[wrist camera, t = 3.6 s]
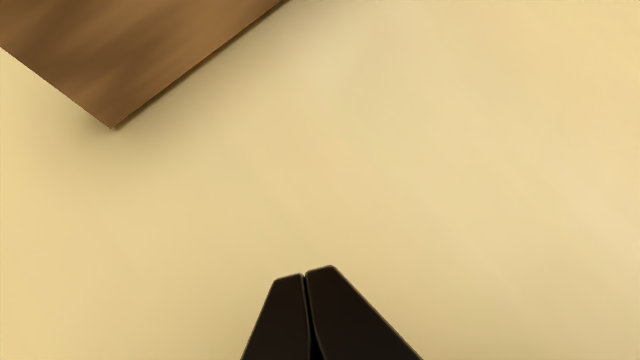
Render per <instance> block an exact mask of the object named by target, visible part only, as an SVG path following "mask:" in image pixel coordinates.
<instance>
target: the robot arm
mask: <svg viewBox="0 0 640 360" xmlns="http://www.w3.org/2000/svg"><path fill="white" fill-rule="evenodd" d="M240 360H423V359H422V358H421V357H420V356H419V354H418V353H417V352H416V351H415V350H414V349H413V348H412V347H411V346H410V345H409V344H408V343H407V342H406V341H405V340H404V339H403V338H402V337H401V336H400V334H399V333H398V332H397V331H396V330H395V329H394V328H393V327H392V326H391V325H390V324H389V323H388V322H387V321H386V320H385V319H384V318H383V317H382V316H381V314H380V313H379V312H378V311H377V310H376V309H375V308H374V307H373V306H372V305H371V304H370V303H369V302H368V301H367V300H366V299H365V298H364V297H363V296H362V294H361V293H360V292H359V291H358V290H357V289H356V288H355V287H354V286H353V285H352V284H351V283H350V282H349V281H348V280H347V279H346V278H345V277H344V276H343V274H342V273H341V272H340V271H339V270H338V269H337V268H336V267H334V266H332V265H328V266H324V267H320V268H316V269H312V270H309V271H307V272H306V273H305V277H304V275H303V274H301V273H297V274H293V275H289V276H285V277H281V278H278V279H276V280H275V281H274V282H273V283H272V286H271V288H270V290H269V293H268V295H267V298H266V300H265V302H264V305H263V307H262V309H261V312H260V314H259V317H258V319H257V321H256V324H255V326H254V328H253V331H252V333H251V336H250V338H249V340H248V343H247V345H246V347H245V350H244V352H243V355H242V357H241V359H240Z"/></svg>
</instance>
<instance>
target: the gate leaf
mask: <svg viewBox="0 0 640 360" xmlns="http://www.w3.org/2000/svg"><path fill="white" fill-rule="evenodd" d="M280 1H281V0H0V47H1V48H2V49H4V50H5V51H6V52H8V53H9V54H11V55H12V56H13V57H15V58H16V59H17V60H19V61H20V62H21V63H23V64H24V65H25V66H27V67H28V68H29V69H31V70H32V71H33V72H35V73H36V74H37V75H39V76H40V77H42V78H43V79H44V80H46V81H47V82H48V83H50V84H51V85H52V86H54V87H55V88H56V89H58V90H59V91H60V92H62V93H63V94H64V95H66V96H67V97H68V98H70V99H71V100H72V101H74V102H75V103H77V104H78V105H79V106H81V107H82V108H83V109H85V110H86V111H87V112H89V113H90V114H91V115H93V116H94V117H95V118H97V119H98V120H99V121H101V122H102V123H103V124H105V125H106V126H108V127H109V128H110V129H111V128H113V127H114V126H115V125H117V124H118V123H119V122H121V121H122V120H123V119H125V118H126V117H127V116H129V115H130V114H131V113H133V112H134V111H135V110H137V109H138V108H139V107H141V106H142V105H143V104H145V103H146V102H147V101H149V100H150V99H151V98H153V97H154V96H155V95H157V94H158V93H159V92H161V91H162V90H163V89H165V88H166V87H167V86H169V85H170V84H171V83H172V82H174V81H175V80H176V79H178V78H179V77H180V76H182V75H183V74H184V73H186V72H187V71H188V70H190V69H191V68H192V67H194V66H195V65H196V64H198V63H199V62H200V61H202V60H203V59H204V58H206V57H207V56H208V55H210V54H211V53H212V52H214V51H215V50H216V49H218V48H219V47H220V46H222V45H223V44H224V43H226V42H227V41H228V40H230V39H231V38H232V37H234V36H235V35H236V34H238V33H239V32H240V31H242V30H243V29H244V28H246V27H247V26H248V25H249V24H251V23H252V22H253V21H255V20H256V19H257V18H259V17H260V16H261V15H263V14H264V13H265V12H267V11H268V10H269V9H271V8H272V7H273V6H275V5H276V4H277V3H279V2H280Z"/></svg>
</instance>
